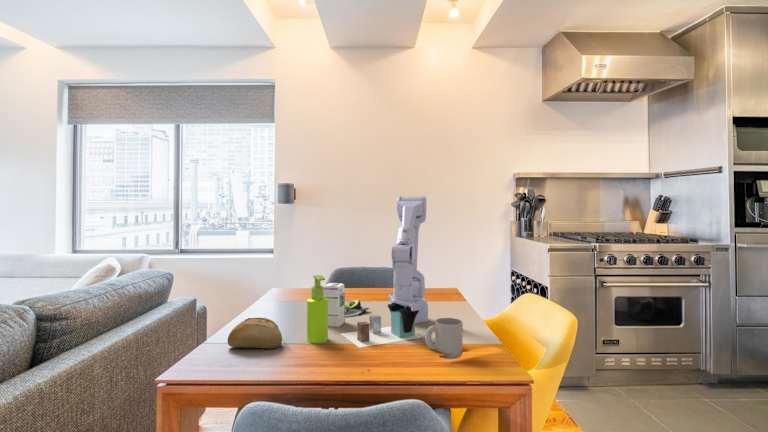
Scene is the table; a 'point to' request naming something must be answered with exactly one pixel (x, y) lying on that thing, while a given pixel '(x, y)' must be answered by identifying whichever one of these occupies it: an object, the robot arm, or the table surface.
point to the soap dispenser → (317, 314)
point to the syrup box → (335, 303)
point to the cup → (446, 337)
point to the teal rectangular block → (399, 325)
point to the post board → (377, 338)
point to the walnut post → (363, 331)
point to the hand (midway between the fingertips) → (402, 329)
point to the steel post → (375, 324)
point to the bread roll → (255, 334)
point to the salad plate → (354, 309)
